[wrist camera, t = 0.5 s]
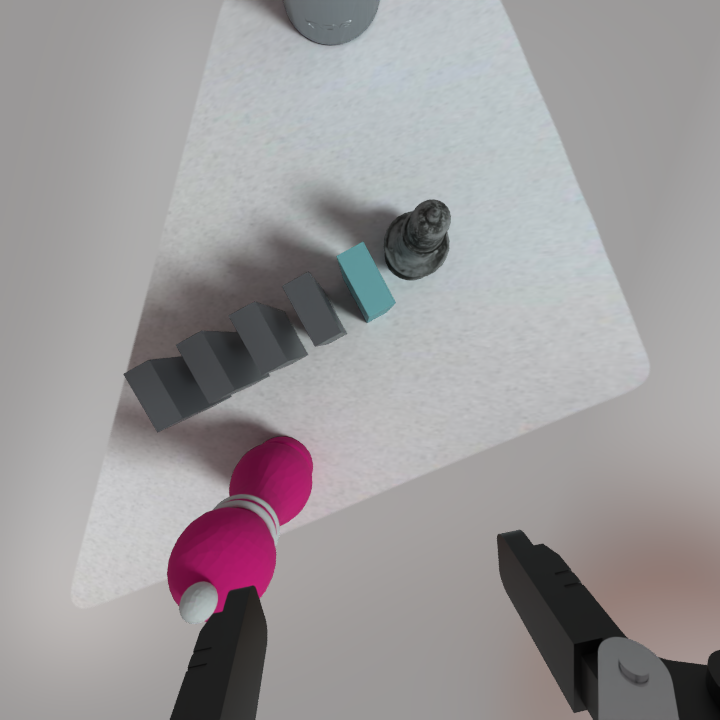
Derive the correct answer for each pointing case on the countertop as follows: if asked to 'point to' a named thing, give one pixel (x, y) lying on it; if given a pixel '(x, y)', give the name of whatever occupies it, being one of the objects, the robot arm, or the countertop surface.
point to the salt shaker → (418, 241)
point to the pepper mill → (240, 529)
